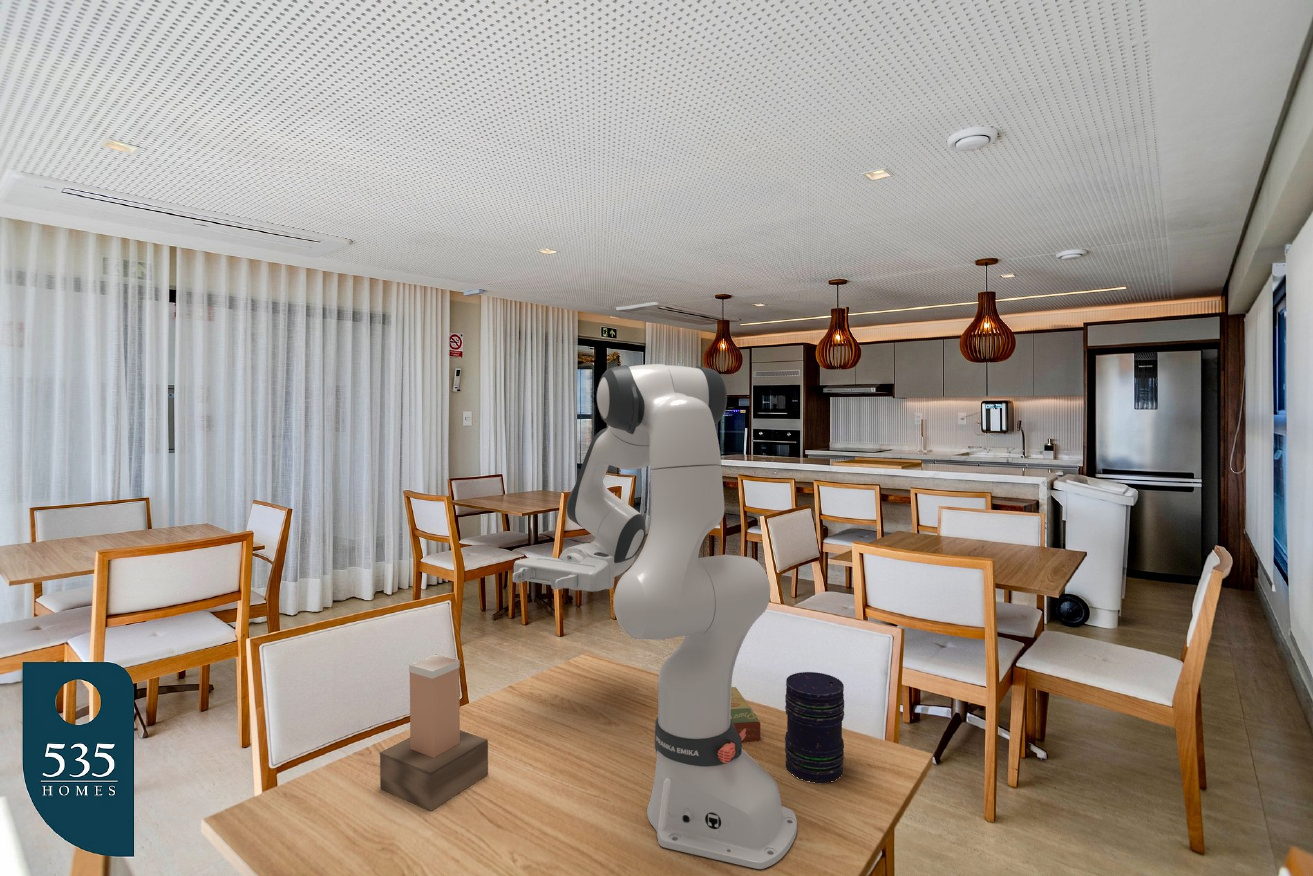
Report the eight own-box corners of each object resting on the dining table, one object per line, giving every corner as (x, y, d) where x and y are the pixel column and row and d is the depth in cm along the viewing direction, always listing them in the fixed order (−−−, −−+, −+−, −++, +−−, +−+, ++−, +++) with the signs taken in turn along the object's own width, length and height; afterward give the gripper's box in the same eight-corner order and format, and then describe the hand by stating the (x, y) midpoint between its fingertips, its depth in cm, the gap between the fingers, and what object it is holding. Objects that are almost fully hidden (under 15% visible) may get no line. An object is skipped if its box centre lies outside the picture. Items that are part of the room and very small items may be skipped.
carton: (736, 705, 138) (737, 685, 138) (761, 742, 122) (761, 720, 122) (698, 708, 137) (698, 687, 137) (718, 746, 121) (718, 723, 121)
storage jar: (791, 784, 107) (792, 695, 107) (779, 754, 117) (779, 672, 117) (851, 784, 108) (852, 694, 107) (834, 753, 117) (835, 671, 117)
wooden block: (488, 774, 110) (487, 739, 110) (431, 811, 100) (430, 772, 100) (438, 756, 116) (438, 722, 116) (380, 788, 106) (380, 752, 106)
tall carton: (460, 743, 109) (459, 660, 109) (433, 758, 104) (432, 671, 104) (437, 734, 112) (436, 654, 111) (410, 749, 107) (409, 664, 107)
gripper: (540, 546, 138) (493, 558, 126) (620, 557, 128) (577, 571, 116) (540, 576, 139) (493, 590, 127) (620, 589, 128) (577, 606, 116)
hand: (534, 581), depth 121 cm, fingers open, 8 cm apart
